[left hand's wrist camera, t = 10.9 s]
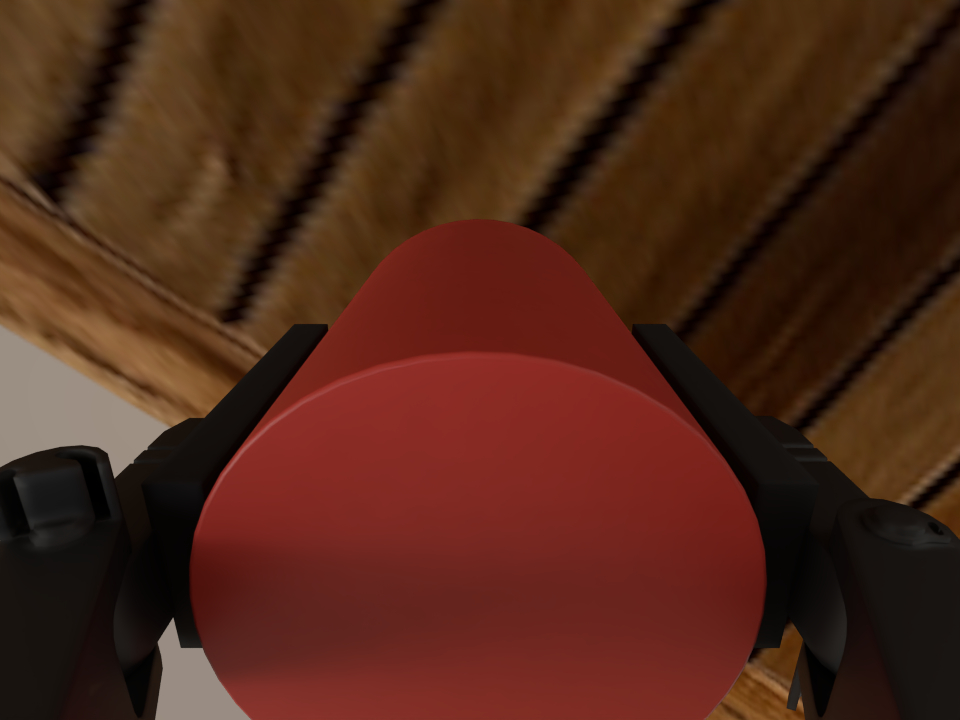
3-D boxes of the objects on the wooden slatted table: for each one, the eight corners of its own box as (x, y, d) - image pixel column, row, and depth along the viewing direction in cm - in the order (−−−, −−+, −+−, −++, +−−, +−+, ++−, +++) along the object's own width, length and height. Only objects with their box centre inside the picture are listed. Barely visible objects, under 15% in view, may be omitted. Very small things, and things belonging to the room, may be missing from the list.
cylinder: (600, 456, 17) (730, 803, 8) (364, 462, 17) (242, 813, 8) (613, 214, 15) (819, 342, 6) (336, 223, 15) (121, 361, 6)
